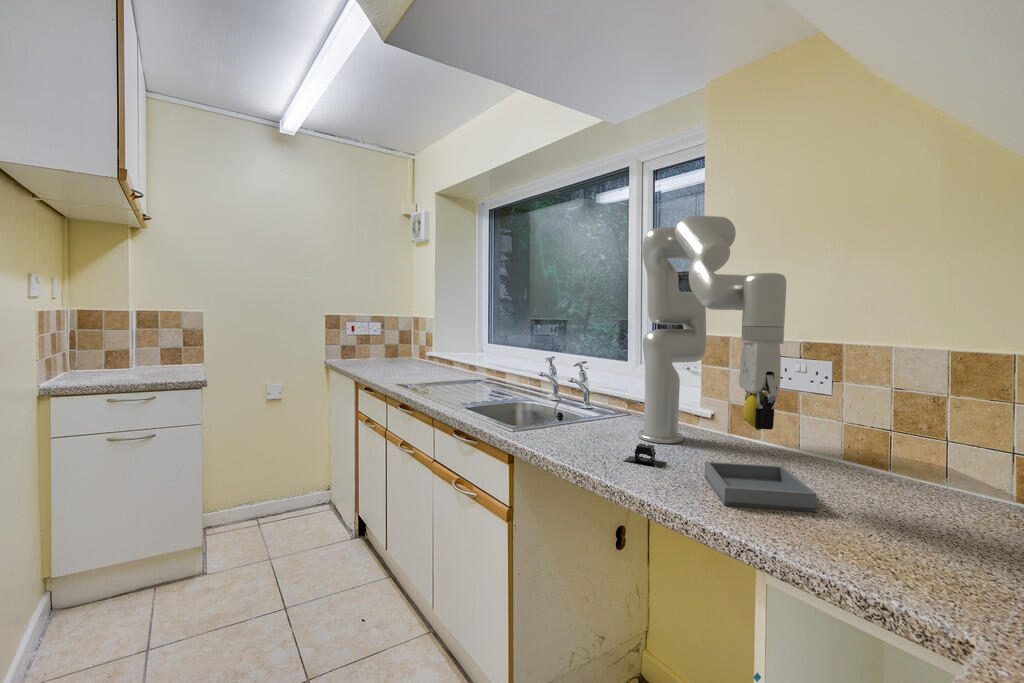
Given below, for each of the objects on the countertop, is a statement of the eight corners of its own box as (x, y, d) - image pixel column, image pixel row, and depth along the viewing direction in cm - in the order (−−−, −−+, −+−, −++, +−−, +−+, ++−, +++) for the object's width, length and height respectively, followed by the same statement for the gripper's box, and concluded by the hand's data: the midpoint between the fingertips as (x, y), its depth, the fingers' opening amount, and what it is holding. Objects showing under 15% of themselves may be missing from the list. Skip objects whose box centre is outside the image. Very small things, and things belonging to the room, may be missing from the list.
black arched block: (674, 464, 117) (674, 446, 117) (666, 473, 111) (667, 453, 111) (624, 456, 124) (625, 438, 124) (615, 463, 118) (615, 445, 117)
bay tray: (704, 476, 107) (705, 461, 107) (781, 481, 105) (782, 466, 105) (724, 505, 92) (725, 487, 91) (815, 512, 89) (816, 493, 89)
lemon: (779, 432, 96) (781, 392, 96) (762, 435, 93) (764, 394, 93) (753, 426, 101) (755, 388, 100) (736, 429, 98) (738, 390, 98)
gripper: (730, 333, 105) (726, 415, 106) (757, 337, 88) (752, 434, 89) (766, 334, 104) (762, 416, 105) (801, 338, 87) (796, 437, 88)
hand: (758, 424), depth 97 cm, fingers closed on lemon, 5 cm apart
